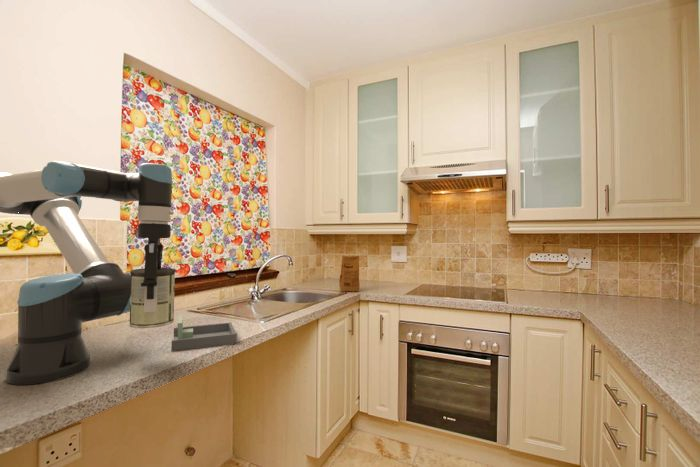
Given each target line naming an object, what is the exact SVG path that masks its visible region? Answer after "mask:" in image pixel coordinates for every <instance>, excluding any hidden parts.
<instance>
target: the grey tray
mask: <svg viewBox="0 0 700 467" xmlns="http://www.w3.org/2000/svg"><path fill="white" fill-rule="evenodd" d="M192 328H193V338H185V339H178V326H177V327H173V339H171V350H170V351H171V352H176V351H182V350H183V351H185V350H193V349H200V348H201V349H202V348H209V347H217V346H225V345H233V344H237V333H236V331H235V328H234V325H233V322H222V323H211V324H210V323H209V324H208V323H207V324H201V325H200V324H198V325H197V324H196V325H187V326H183V329H192Z"/></svg>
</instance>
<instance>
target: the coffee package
mask: <svg viewBox="0 0 700 467" xmlns="http://www.w3.org/2000/svg"><path fill="white" fill-rule="evenodd" d="M341 258H342V260H341V266H340V276H339V291H340V290H341V291H358V292H360V256H359V255H355V256H353V255H352V256H349V255H342V257H341ZM341 291H340V292H341Z"/></svg>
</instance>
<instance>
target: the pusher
mask: <svg viewBox="0 0 700 467" xmlns="http://www.w3.org/2000/svg"><path fill="white" fill-rule="evenodd" d="M177 327H178V339H185V338H193V328H192V329H183V327H184V314H183V313H182V314H181V313H180V314H178V321H177Z"/></svg>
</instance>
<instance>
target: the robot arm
mask: <svg viewBox="0 0 700 467" xmlns="http://www.w3.org/2000/svg"><path fill="white" fill-rule="evenodd" d="M173 182H174V181H173V172H172V169H171V167H170V166H168V165H166V164H160V163H155V162H154V163H153V162H143V163H141V164H140V165H139V169H138V172H135V173H127V172H122V171H117V170H110V169H105V168H99V167H94V166H90V165H89V166H88V165H83V164H78V163H73V162H72V161H59V160H51V161H49V162H47V163H46V165H45V166H44V167H43V168H42V169H38V170H32V171H24V172H18V173H13V174H11V173H9V172H0V213H3V214H9V215H26V216H27V215H28V216H30V217H31V219H32V220H33V222H34V223H35V224H36V225H39V226H41V227H44V228H45V229H46V231H47V232H48V234H49V236H50V238H51V239H52V240H53V242H54V245H56V247H57V249H58V250H59V252H60V253H61V255H62V257H63V258H64V260H65V261H66V263H67V264H68V266H69V268H70V269H71V271H72V272H71V273H63V274H52V275H46V276H41V277H37V278H34V279H31V280H28V281H26V282H24V283H23V284H22V285H21V286H20V287H19V291H18V292H19V293H18V300H17V306H18V307H17V308H18V309H17V310H18V311H17V312H18V313H17V320H18V322H17V329H18V330H17V346H16V348H15V351H14V352H13V355H12V357H11V360H10V362H9V365H8V367H7V369H6V374H5V377H6V378H5V380H6V381H5V382H6V383H8V384H11V385H18V386H19V385H20V386H21V385H22V386H24V385H25V386H26V385H36V384H42V383H49V382H52V381H57V380H61V379H64V378H68V377H71V376H73V375H76V374H79V373H81V372H82V371H83V372H84V370H86V369H87V368H88V367H89V366H90V361H91V360H90V359H91V358H90V353H89V350H88V348H87V346H86V344H85V341H84V338H83V335H82V329H83V327H82V326H83V323H86V322H90V321H91V322H92V321H95V320H101V319H105V318H110V317H111V318H112V317H114V316H116V317H118V316H121V315H122V314H128V313H130V285H131V274H130V272H126V273H125V272H123V269H122V268H121V266H119V264H117V263H115V262H110V261H109V260H108V258H107V257H106V255H105V254H104V252H103V250H102V249H101V248H100V246H99V245H98V243H97V242H96V240H95V239H94V238H93V236H92V234H91V232H89V230H88V228H87V227H86V225H85V224H84V223H83V221H82V219H81V218H80V217H79V213H80V210H81V209H82V204H83V201H82V199H81V198H82V197H84V198H85V197H86V198H87V197H88V198H95V199H107V200H112V201H116V202H123V203H128V202H138V203H137V221H138V222H140V223H138V225H137V237H138V238H140V239H147V244H145V245H144V260H145V261H144V268H145V272H144V281H143V283H141V286H144V312H156V311H157V270H158V269H160V268H162V259H163V250H164V245H163V244H162V242H161V239H170V238H171V234H172V232H171V230H172V228H171V227H172V226H171V224H169V223H171V221H172V220H171V219H172V218H171V216H173V215H174V211H172V194H173V192H172V191H173ZM18 212H19V213H18Z"/></svg>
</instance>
